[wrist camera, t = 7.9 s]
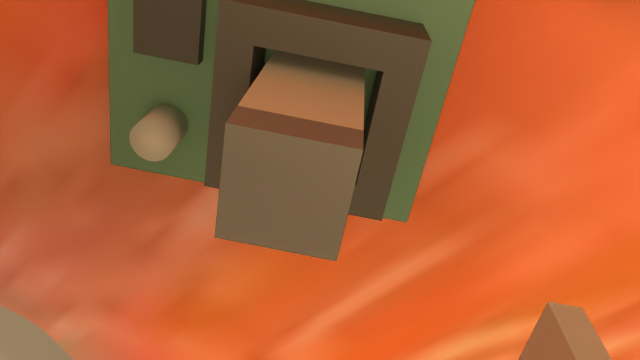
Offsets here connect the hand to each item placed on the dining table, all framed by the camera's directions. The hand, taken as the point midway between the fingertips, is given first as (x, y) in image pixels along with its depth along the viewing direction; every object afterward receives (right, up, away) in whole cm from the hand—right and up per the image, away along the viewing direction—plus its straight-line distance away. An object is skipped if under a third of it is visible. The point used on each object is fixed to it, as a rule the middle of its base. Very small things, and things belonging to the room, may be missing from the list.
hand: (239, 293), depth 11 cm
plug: (+1, +7, +13) cm, 15 cm away
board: (0, +8, +14) cm, 16 cm away
